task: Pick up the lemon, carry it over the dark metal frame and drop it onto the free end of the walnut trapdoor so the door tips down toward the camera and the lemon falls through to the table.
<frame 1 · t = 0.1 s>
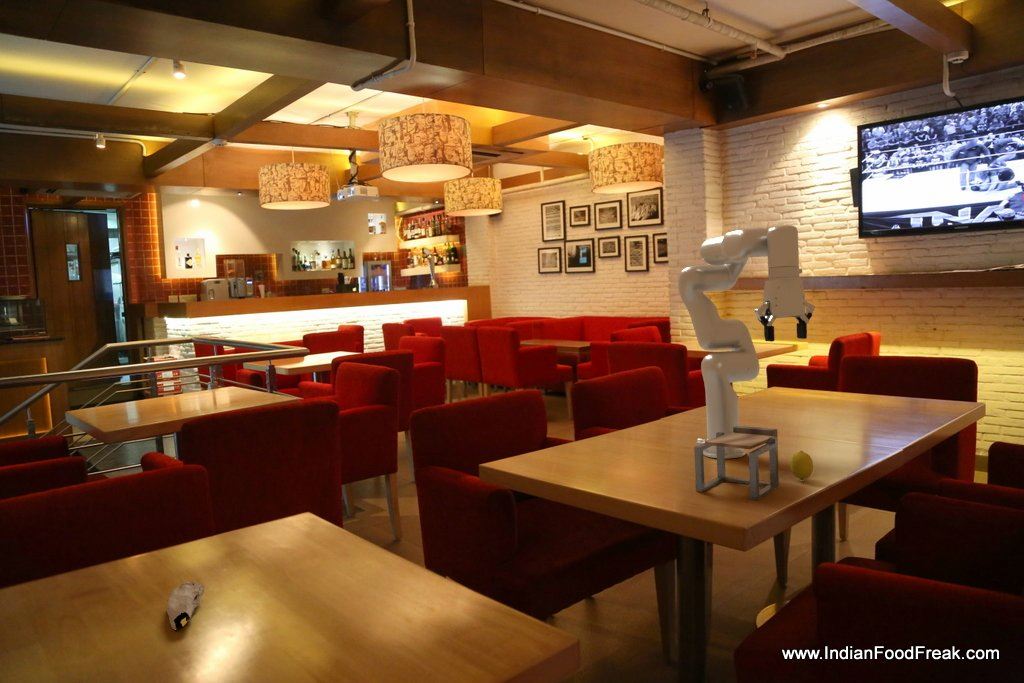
hand: (785, 339, 189), 37 cm above the table, tool pointing down, fingers open, 9 cm apart
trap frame: (741, 486, 188), on the table
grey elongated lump: (187, 617, 129), on the table
lemon: (802, 481, 190), on the table
trapdoor: (742, 439, 188), point 12 cm above the table, hinge at 2.0°
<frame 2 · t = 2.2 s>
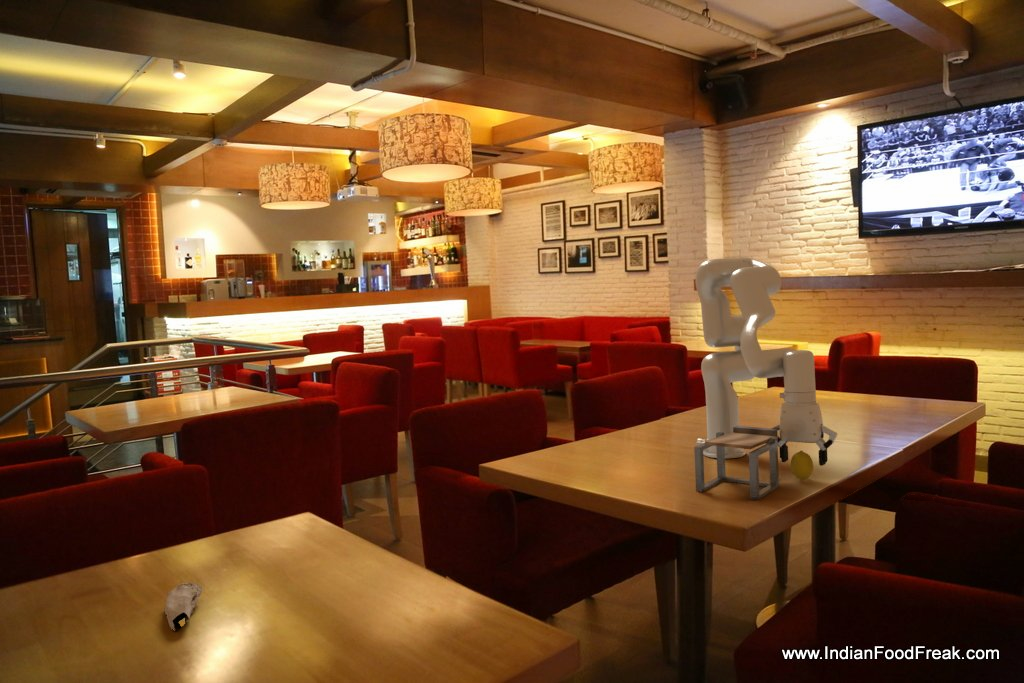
hand: (803, 462, 189), 5 cm above the table, tool pointing down, fingers open, 9 cm apart
nothing on the table moved.
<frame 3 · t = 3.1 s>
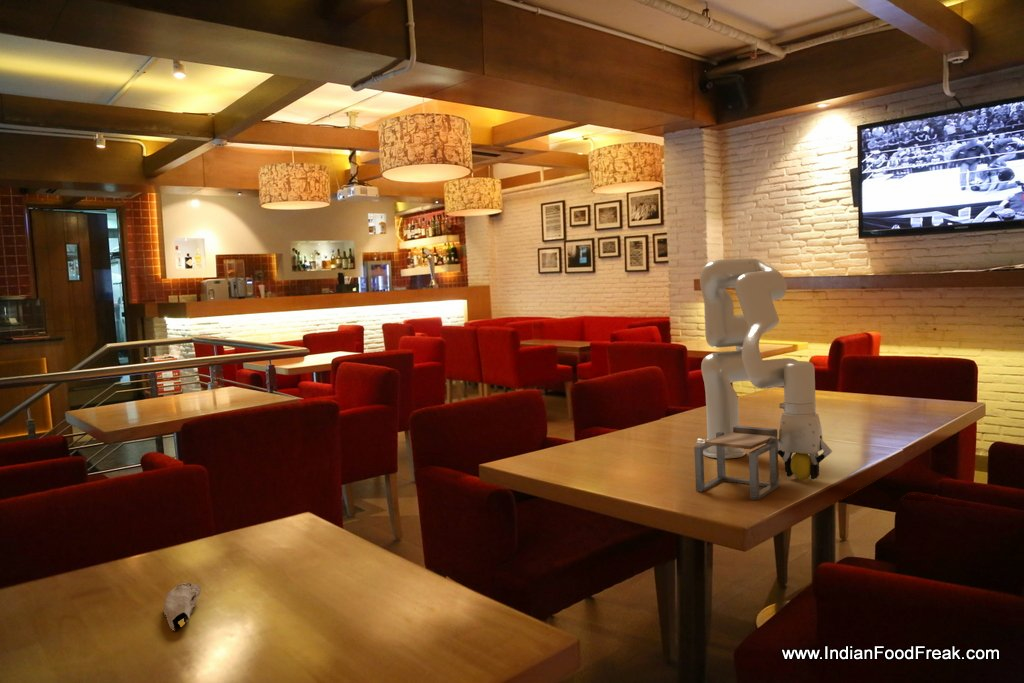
hand: (802, 476, 190), 1 cm above the table, tool pointing down, fingers closed on lemon, 5 cm apart
lemon: (802, 481, 190), on the table, touching gripper
everything else where it was.
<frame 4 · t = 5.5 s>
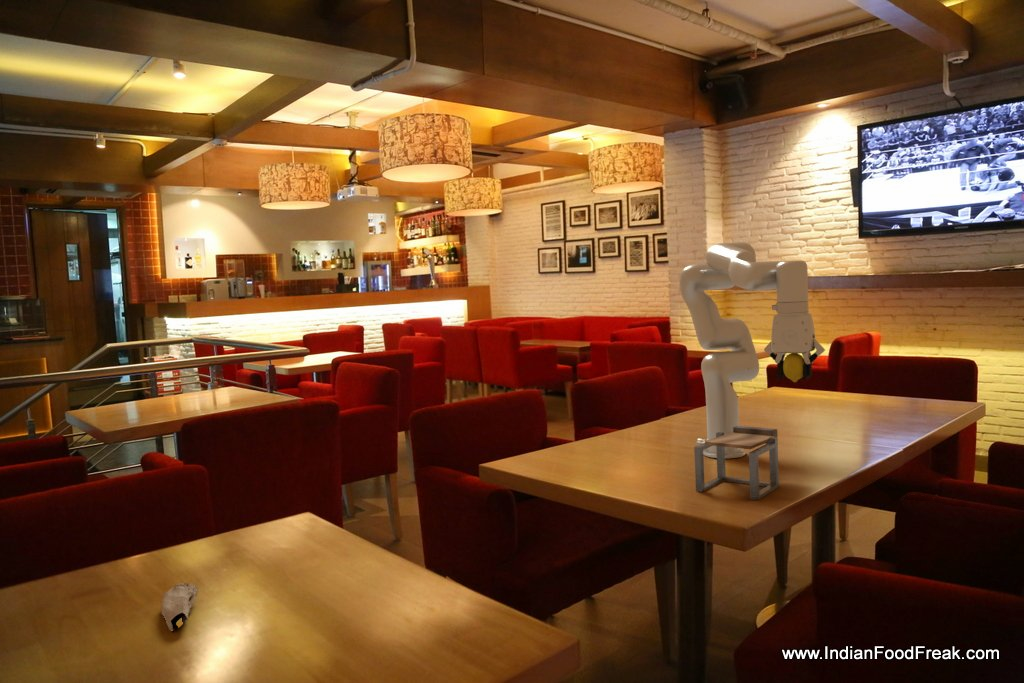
hand: (794, 377, 188), 27 cm above the table, tool pointing down, fingers closed on lemon, 5 cm apart
lemon: (794, 383, 188), point 26 cm above the table, touching gripper
everything else where it was.
when the fingers open (16 cm above the table, at t = 7.8 s): lemon drops 14 cm, on the table.
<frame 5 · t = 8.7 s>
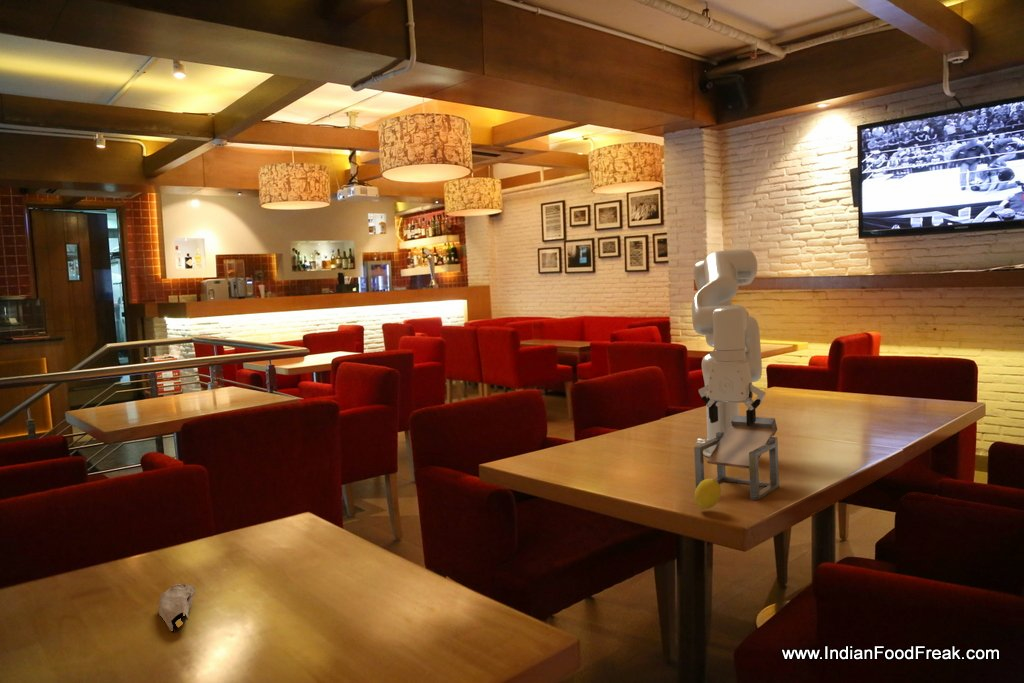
hand: (732, 423, 184), 17 cm above the table, tool pointing down, fingers open, 9 cm apart
lemon: (700, 509, 170), on the table
trapdoor: (743, 442, 189), point 11 cm above the table, hinge at -24.6°
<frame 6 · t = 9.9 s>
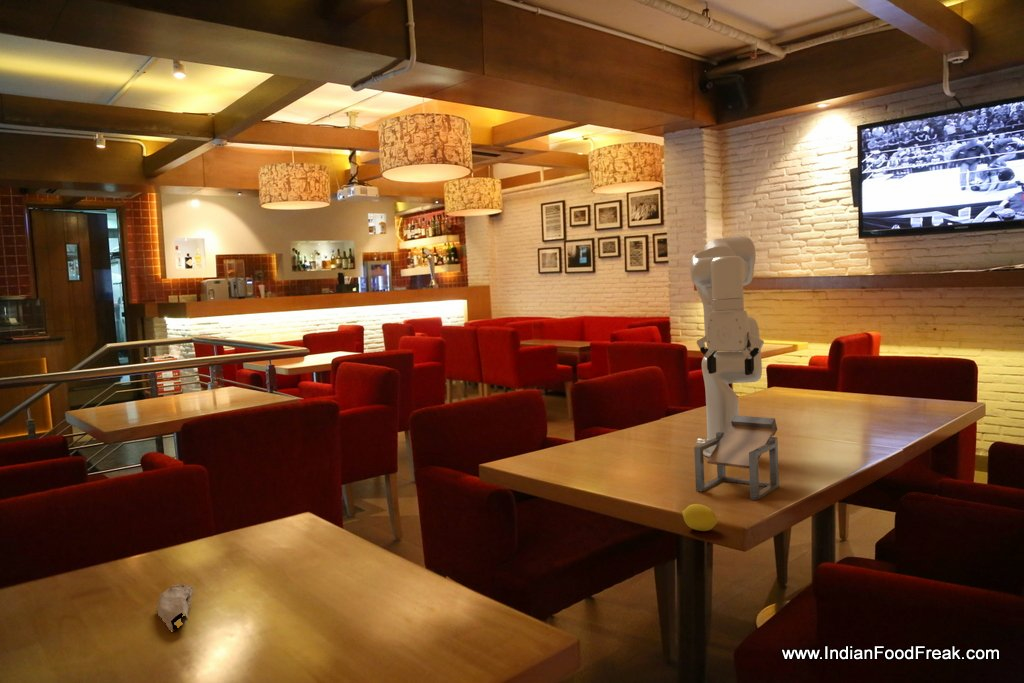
hand: (730, 373, 183), 30 cm above the table, tool pointing down, fingers open, 9 cm apart
lemon: (680, 512, 159), point 3 cm above the table
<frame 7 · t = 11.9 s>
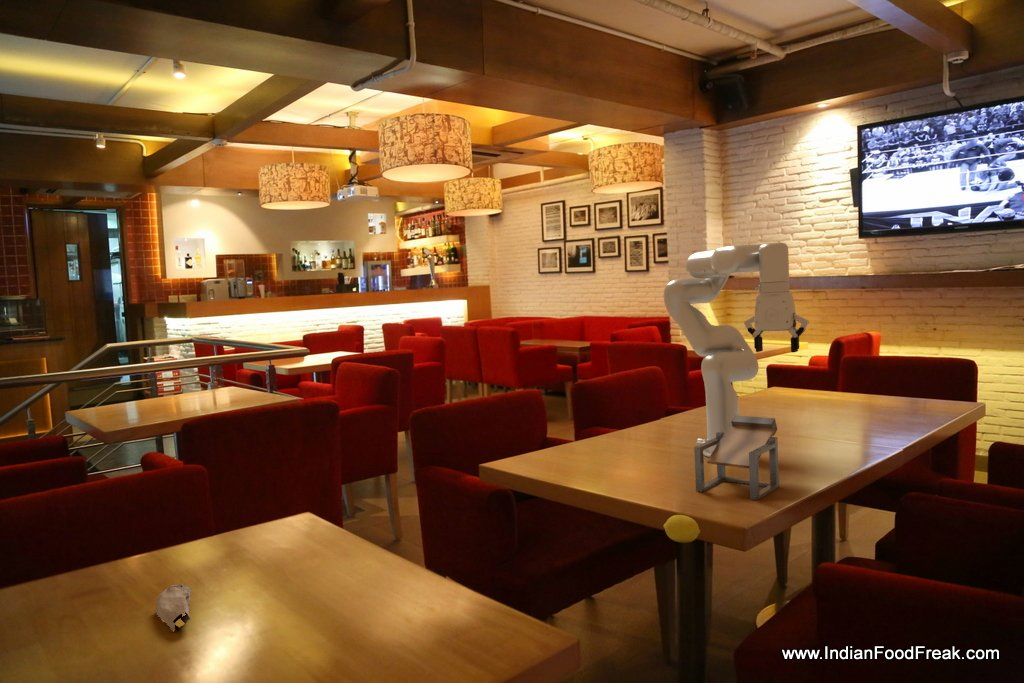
hand: (776, 351, 198), 33 cm above the table, tool pointing down, fingers open, 9 cm apart
lemon: (662, 525, 153), point 3 cm above the table
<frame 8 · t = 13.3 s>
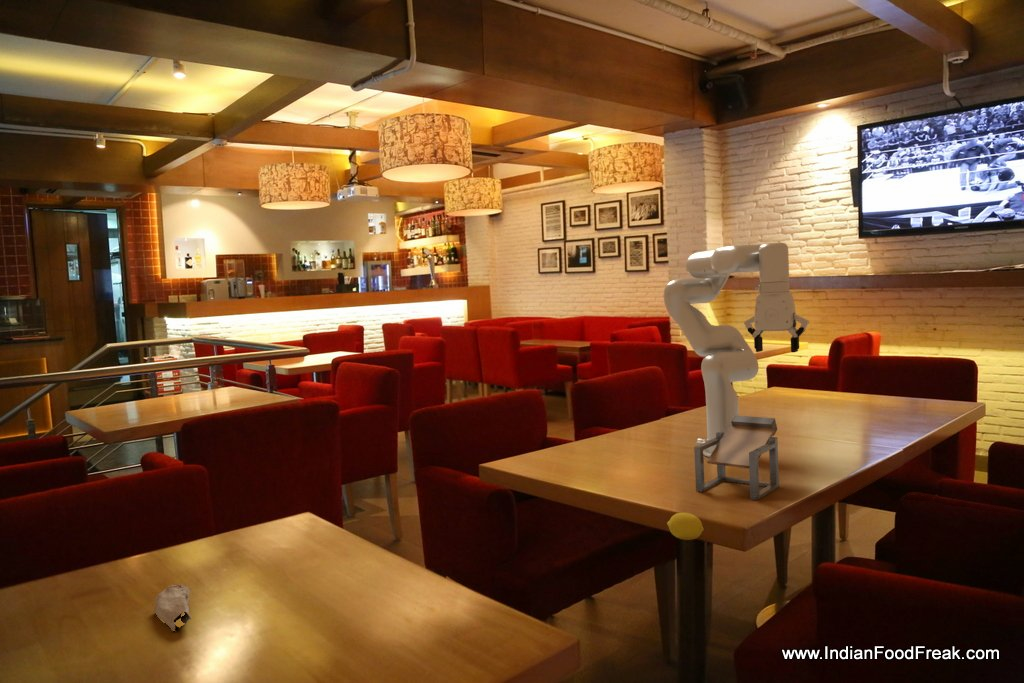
hand: (776, 351, 198), 33 cm above the table, tool pointing down, fingers open, 9 cm apart
lemon: (666, 523, 155), point 3 cm above the table
at the end: lemon point 2.8 cm above the table; lemon inside the target area (24.9 cm from its centre), point 2.8 cm above the table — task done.
